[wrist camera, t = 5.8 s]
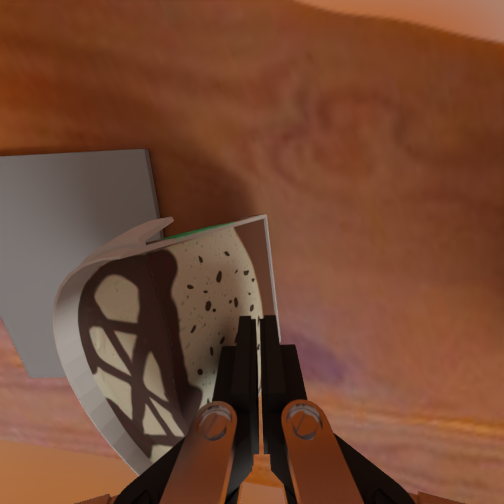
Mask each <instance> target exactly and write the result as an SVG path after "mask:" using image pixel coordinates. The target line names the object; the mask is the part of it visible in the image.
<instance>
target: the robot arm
mask: <svg viewBox="0 0 504 504" xmlns="http://www.w3.org/2000/svg"><path fill="white" fill-rule="evenodd" d="M260 355H261V393H262V418H263V442H264V454H270V464H271V471H272V472H273V473H274V474H275V475H276V476H277V477H278V478H279V479H280V481H281V482H282V489H283V494H284V499H285V504H465V503H461V502H457V501H453V500H449V499H446V498H442V497H438V496H434V495H431V494H427V493H423V492H419V491H418V494H417V495H415V494H412V493H408V492H406V491H405V490H404V489H403V488H402V487H401V486H400V485H399V484H398V483H397V482H395V481H394V480H393V479H392V478H390V477H389V476H388V475H386V474H385V473H384V472H383V471H381V470H380V469H379V468H378V467H376V466H375V465H374V464H373V463H371V462H370V461H369V460H367V459H366V458H365V457H364V456H362V455H361V454H360V453H359V452H357V451H356V450H355V449H354V448H352V447H351V446H350V445H348V444H347V443H346V442H345V441H343V440H342V439H341V438H340V437H338V436H337V435H336V434H335V433H333V431H332V429H331V426H330V424H329V422H328V419H327V417H326V415H325V414H324V412H323V410H322V409H321V408H320V407H319V406H318V405H316V404H314V403H313V402H311V401H308V400H307V396H306V391H305V387H304V382H303V378H302V373H301V369H300V364H299V359H298V355H297V350H296V346H295V344H293V345H280V342H279V335H278V327H277V320H276V315H264V318H262V319H260ZM253 454H259V395H258V354H257V332H256V319H251V316H239V324H238V333H237V342H236V346H223V347H222V349H221V354H220V360H219V365H218V370H217V376H216V381H215V387H214V392H213V397H212V402H210V403H207V404H206V405H204V406H202V407H201V408H200V409H199V410H198V411H197V412H196V414H195V416H194V418H193V420H192V422H191V425H190V427H189V430H188V432H187V435H186V436H185V437H184V438H183V439H182V440H181V441H179V442H178V443H177V444H176V445H175V446H174V447H172V448H171V449H170V450H169V451H168V452H167V453H165V454H164V455H163V456H162V457H161V458H160V459H158V460H157V461H156V462H155V463H154V464H153V465H151V466H150V467H149V468H148V469H147V470H146V471H144V472H143V473H142V474H141V475H140V476H139V477H137V478H136V479H135V480H134V481H133V482H132V483H130V484H129V485H128V486H127V487H126V488H125V489H124V490H123V491H122V492H121V493H120V494H119V495H116V496H113V497H110V495H109V494H106V495H103V496H99V497H96V498H93V499H89V500H86V501H82V502H79V503H75V504H240V499H241V494H242V487H243V481H244V479H245V478H246V477H247V476H248V475H249V473H250V472H251V471H252V465H253Z"/></svg>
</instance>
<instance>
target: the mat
mask: <svg viewBox="0 0 504 504" xmlns="http://www.w3.org/2000/svg"><path fill="white" fill-rule="evenodd" d="M155 219H161V217H160V212H159V206H158V201H157V195H156V190H155V184H154V179H153V173H152V168H151V162H150V157H149V151H148V149H130V150H111V151H93V152H75V153H57V154H38V155H20V156H2V157H0V316H1V318H2V320H3V323H4V325H5V327H6V329H7V331H8V333H9V335H10V337H11V339H12V341H13V343H14V345H15V348H16V350H17V352H18V354H19V356H20V358H21V360H22V362H23V364H24V366H25V368H26V371H27V373H28V375H29V377H30V378H41V377H67V376H66V374H65V372H64V369H63V367H62V364H61V361H60V358H59V355H58V352H57V348H56V343H55V338H54V333H53V318H52V316H53V307H54V300H55V297H56V295H57V292H58V289H59V286H60V285H61V284H62V282H63V281H64V279H65V278H66V277H67V275H68V274H69V273H71V272H72V271H73V270H74V269H76V268H77V267H78V266H80V264H81V263H82V262H83V260H84V259H85V258H86V257H87V256H89V255H90V254H91V253H93V252H94V251H95V250H97V249H98V248H99V247H101V246H103V245H105V244H106V243H108V242H110V241H111V240H113V239H115V238H116V237H118V236H120V235H121V234H123V233H125V232H127V231H128V230H130V229H132V228H134V227H136V226H138V225H141V224H143V223H146V222H148V221H150V220H155ZM162 238H164V234H163V229H162V230H160V231H159V232H157V233H156V234H154V235H153V236H152V237H150V238H149V239H147V240H146V241H145V243H146V242H150V241H154V240H158V239H162Z"/></svg>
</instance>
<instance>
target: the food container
mask: <svg viewBox="0 0 504 504" xmlns="http://www.w3.org/2000/svg"><path fill="white" fill-rule="evenodd" d="M173 221H174V220H173V218H172V216H171V217H166V218H161V219H155V220H150V221H148V222H146V223H143V224H141V225H138V226H136V227H134V228H132V229H130V230H128V231H127V232H125V233H123V234H121V235H120V236H118V237H116V238H115V239H113V240H111V241H110V242H108V243H106V244H105V245H103V246H101V247H99V248H98V249H97V250H95V251H94V252H93V253H91V254H90V255H89V256H87V257H86V258H85V259H84V260H83V262H82V263H81V264H80V266H78V267H77V268H76V269H74V270H73V271H72V272H71V273H69V274H68V275H67V277H66V278H65V279H64V281H63V282H62V284H61V285H60V286H59V289H58V292H57V295H56V297H55V300H54V307H53V316H52V318H53V333H54V338H55V343H56V348H57V352H58V355H59V358H60V361H61V364H62V367H63V369H64V372H65V374H66V376H67V379H68V381H69V383H70V385H71V387H72V389H73V391H74V393H75V395H76V397H77V398H78V400H79V402H80V403H81V405H82V407H83V408H84V410H85V412H86V413H87V415H88V416H89V418H90V419H91V421H92V422H93V423H94V425H95V426H96V428H97V429H98V431H99V432H100V433H101V434H102V436H103V437H104V438H105V439H106V441H107V442H108V443H109V445H110V446H111V447H112V448H113V449H114V450H115V452H116V453H117V454H118V455H119V456H120V457H121V458H122V459H123V461H124V462H125V463H126V464H127V465H128V466H129V467H130V468H131V469H132V470H133V471H134V472H135V473H136V474H137V475H138V476H140V475H141V474H142V473H143V472H144V471H146V470H147V469H148V468H149V467H150V466H151V465H153V464H154V463H155V462H156V461H157V460H158V459H160V458H161V457H162V456H163V455H164V454H165V453H167V452H168V451H169V450H170V449H171V448H172V447H174V446H175V445H176V444H177V443H178V442H179V441H181V440H182V439H183V438H184V437H185V436H186V435H187V432H188V430H189V427H190V425H191V422H192V420H193V418H194V416H195V414H196V412H197V411H198V410H199V409H200V408H201V407H202V406H204V405H206V404H207V403H210V402H212V397H213V392H214V387H215V381H216V376H217V370H218V365H219V360H220V354H221V349H222V347H223V346H236V342H237V333H238V324H239V316H251V319H256V332H257V354H258V395H259V396H260V393H261V355H260V319H262V318H264V315H276V320H277V327H278V335H279V342H280V341H281V337H280V328H279V319H278V310H277V301H276V292H275V283H274V275H273V266H272V257H271V248H270V239H269V230H268V221H267V214H261V215H255V216H249V217H245V218H241V219H237V220H233V221H229V222H225V223H221V224H217V225H213V226H209V227H205V228H202V229H198V230H194V231H190V232H186V233H182V234H178V235H174V236H170V237H166V238H162V239H158V240H154V241H150V242H146V243H145V241H146V240H147V239H149V238H150V237H152V236H153V235H154V234H156V233H157V232H159V231H160V230H162V229H163V228H165V227H166V226H168V225H169V224H171V223H172V222H173Z"/></svg>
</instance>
